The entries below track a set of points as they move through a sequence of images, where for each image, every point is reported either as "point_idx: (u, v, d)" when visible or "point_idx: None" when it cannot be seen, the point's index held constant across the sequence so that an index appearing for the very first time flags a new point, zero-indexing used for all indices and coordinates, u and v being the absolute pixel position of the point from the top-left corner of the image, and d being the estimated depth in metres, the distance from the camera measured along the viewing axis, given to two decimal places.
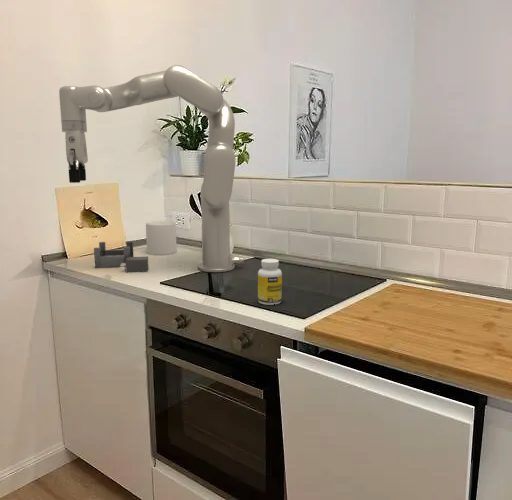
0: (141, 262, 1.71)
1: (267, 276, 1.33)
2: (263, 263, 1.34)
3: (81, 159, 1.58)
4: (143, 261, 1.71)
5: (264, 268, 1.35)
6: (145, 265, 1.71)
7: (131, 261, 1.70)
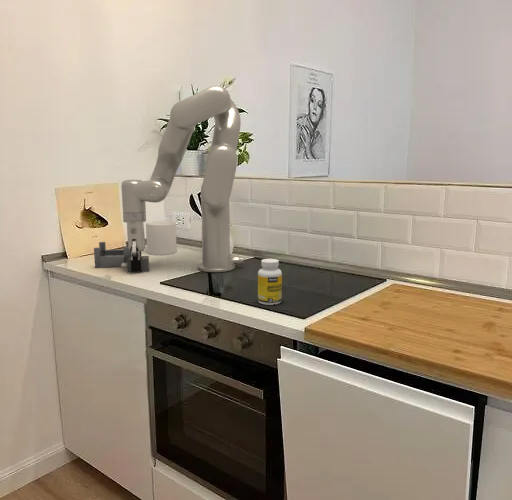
0: (142, 262, 1.71)
1: (267, 276, 1.33)
2: (263, 263, 1.34)
3: (142, 248, 1.67)
4: (144, 260, 1.71)
5: (264, 268, 1.35)
6: (146, 264, 1.71)
7: None
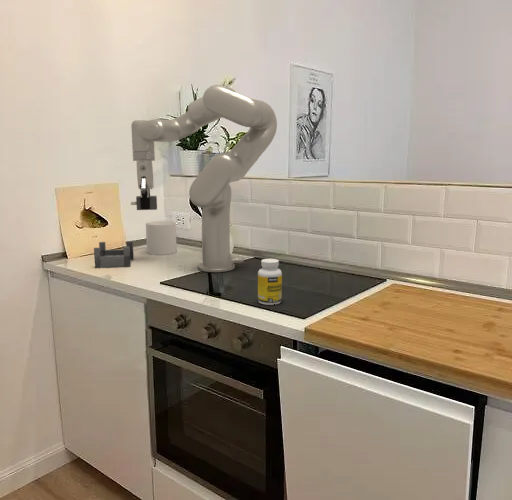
0: (150, 200, 1.79)
1: (267, 276, 1.33)
2: (263, 263, 1.34)
3: (151, 185, 1.76)
4: (152, 198, 1.79)
5: (264, 268, 1.35)
6: (155, 202, 1.79)
7: None
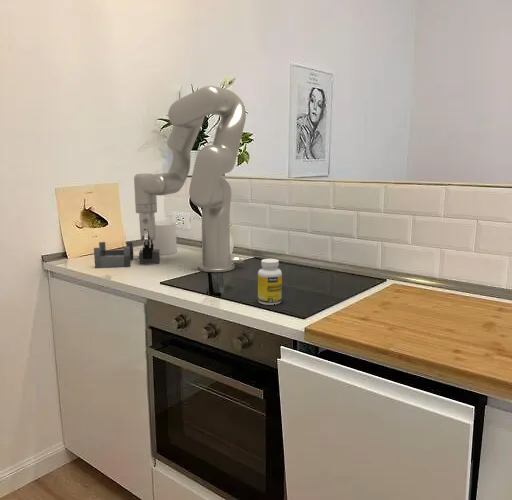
0: (153, 255, 1.83)
1: (267, 276, 1.33)
2: (263, 263, 1.34)
3: (153, 237, 1.79)
4: (155, 253, 1.83)
5: (264, 268, 1.35)
6: (157, 257, 1.83)
7: None
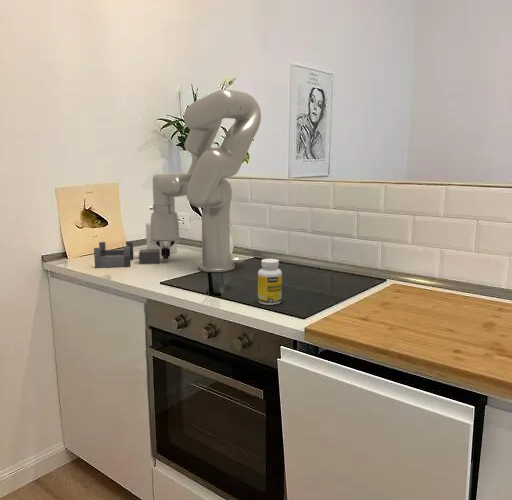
0: (153, 254, 1.83)
1: (267, 276, 1.33)
2: (263, 263, 1.34)
3: (151, 237, 1.81)
4: (155, 253, 1.83)
5: (264, 268, 1.35)
6: (157, 257, 1.83)
7: (144, 253, 1.82)
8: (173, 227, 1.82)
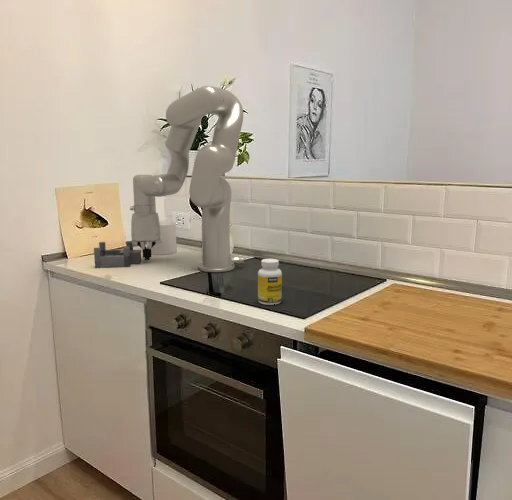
0: (134, 255, 1.82)
1: (267, 276, 1.33)
2: (263, 263, 1.34)
3: (132, 238, 1.81)
4: (136, 253, 1.82)
5: (264, 268, 1.35)
6: (138, 257, 1.82)
7: None
8: (154, 227, 1.81)
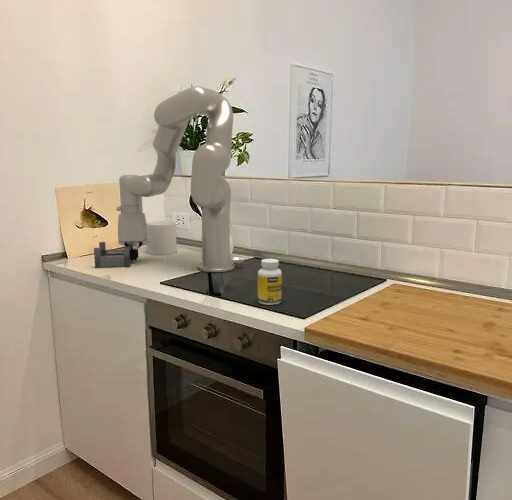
0: None
1: (267, 276, 1.33)
2: (263, 263, 1.34)
3: (118, 238, 1.80)
4: (122, 254, 1.81)
5: (264, 268, 1.35)
6: None
7: (111, 255, 1.80)
8: (141, 228, 1.80)
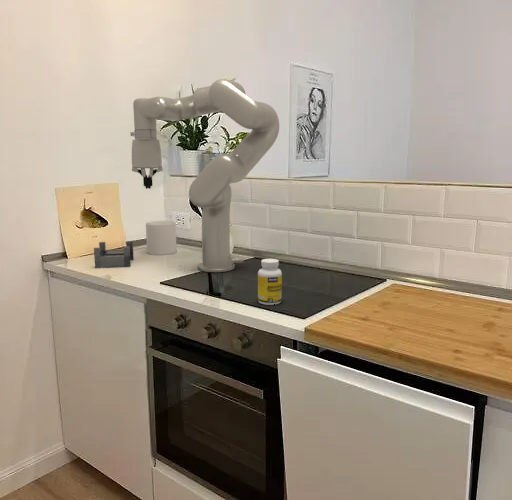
0: None
1: (267, 276, 1.33)
2: (263, 263, 1.34)
3: (132, 164, 1.75)
4: (122, 254, 1.81)
5: (264, 268, 1.35)
6: None
7: (111, 255, 1.80)
8: (155, 154, 1.76)
